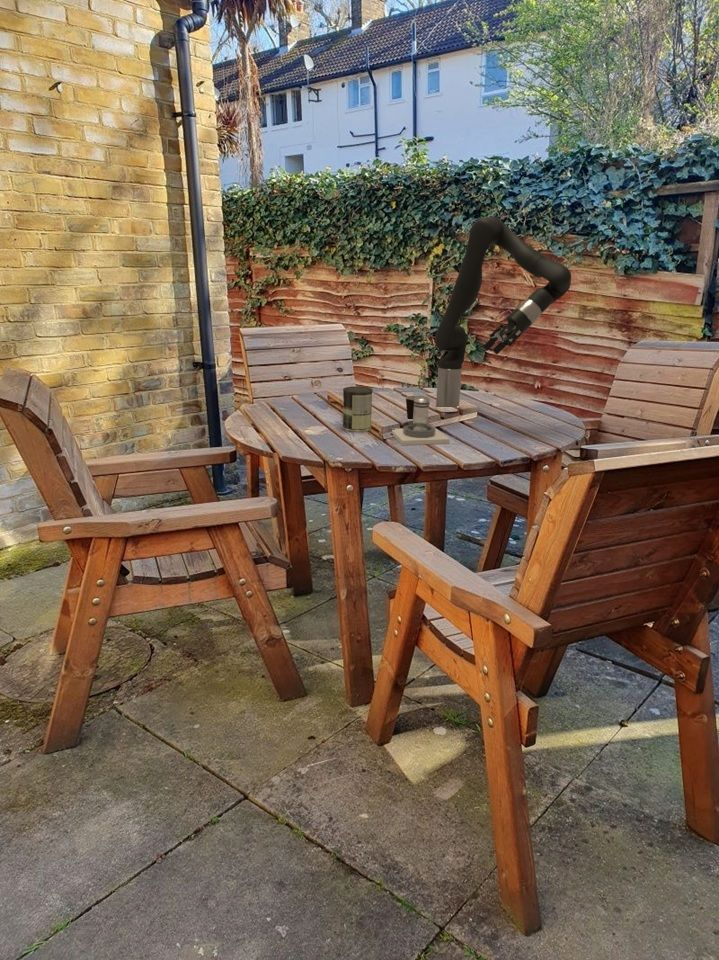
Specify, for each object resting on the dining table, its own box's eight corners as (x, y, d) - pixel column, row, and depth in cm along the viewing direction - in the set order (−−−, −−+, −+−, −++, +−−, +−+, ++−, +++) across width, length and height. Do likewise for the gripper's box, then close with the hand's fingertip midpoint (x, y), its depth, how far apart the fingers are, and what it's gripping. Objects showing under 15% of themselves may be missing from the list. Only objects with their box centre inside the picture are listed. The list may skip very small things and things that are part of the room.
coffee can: (337, 430, 237) (338, 390, 232) (349, 423, 246) (349, 385, 241) (365, 433, 233) (366, 392, 229) (375, 426, 242) (376, 387, 238)
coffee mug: (416, 429, 240) (417, 401, 237) (399, 424, 247) (400, 397, 244) (439, 424, 248) (440, 397, 244) (422, 420, 254) (423, 393, 251)
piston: (410, 431, 230) (412, 397, 226) (424, 431, 231) (427, 397, 227) (414, 435, 225) (416, 400, 221) (429, 435, 226) (431, 400, 222)
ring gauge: (390, 433, 234) (390, 423, 233) (434, 431, 237) (434, 421, 236) (402, 445, 219) (402, 434, 218) (449, 443, 223) (449, 433, 221)
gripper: (508, 306, 232) (475, 340, 233) (527, 309, 219) (491, 345, 220) (521, 322, 235) (488, 355, 236) (540, 326, 222) (504, 361, 223)
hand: (489, 350), depth 228 cm, fingers open, 8 cm apart
